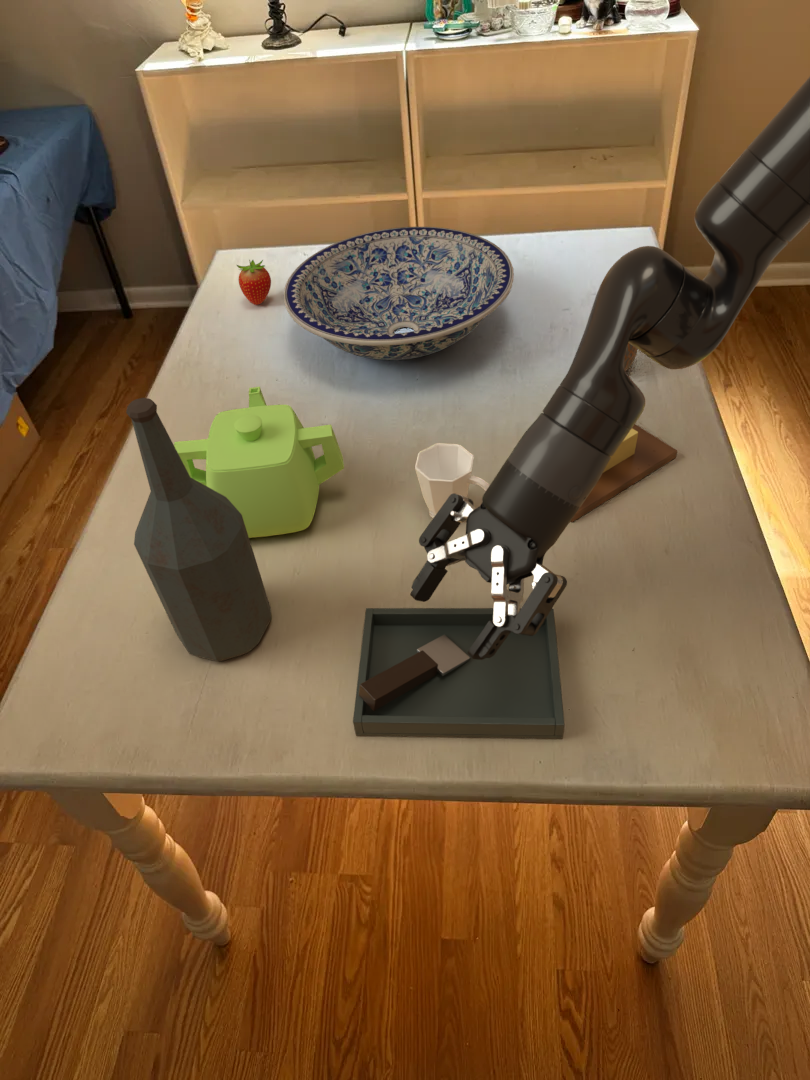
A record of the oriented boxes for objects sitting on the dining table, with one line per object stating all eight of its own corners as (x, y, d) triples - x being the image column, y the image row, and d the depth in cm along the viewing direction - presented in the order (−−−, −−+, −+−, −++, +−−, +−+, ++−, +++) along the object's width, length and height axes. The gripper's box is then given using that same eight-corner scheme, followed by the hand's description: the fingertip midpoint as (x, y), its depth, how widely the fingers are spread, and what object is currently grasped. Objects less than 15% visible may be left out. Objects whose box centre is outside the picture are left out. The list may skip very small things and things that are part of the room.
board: (606, 413, 106) (607, 406, 105) (676, 457, 99) (677, 450, 98) (505, 471, 100) (505, 463, 99) (572, 522, 93) (572, 515, 92)
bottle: (263, 580, 90) (193, 357, 68) (281, 646, 83) (211, 422, 61) (173, 607, 88) (73, 386, 66) (185, 676, 82) (78, 457, 60)
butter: (619, 444, 100) (623, 422, 97) (634, 453, 98) (638, 432, 96) (567, 474, 97) (570, 453, 94) (582, 485, 95) (585, 463, 93)
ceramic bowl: (347, 268, 139) (340, 212, 132) (536, 293, 129) (540, 234, 121) (254, 378, 118) (239, 319, 110) (472, 418, 108) (471, 356, 100)
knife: (442, 640, 82) (353, 689, 76) (445, 630, 81) (354, 678, 75) (468, 664, 80) (378, 717, 73) (471, 653, 79) (380, 705, 72)
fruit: (253, 294, 135) (243, 250, 129) (280, 297, 134) (271, 253, 128) (238, 310, 132) (227, 265, 126) (266, 314, 130) (256, 269, 124)
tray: (551, 623, 83) (553, 607, 81) (562, 739, 74) (564, 725, 72) (368, 622, 85) (365, 607, 83) (356, 736, 75) (352, 722, 73)
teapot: (199, 455, 106) (171, 375, 97) (345, 439, 106) (332, 357, 97) (185, 555, 93) (151, 473, 84) (351, 536, 94) (337, 452, 84)
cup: (436, 484, 99) (433, 434, 93) (507, 511, 95) (509, 460, 89) (407, 519, 95) (402, 469, 89) (480, 548, 91) (480, 498, 85)
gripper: (625, 532, 66) (518, 679, 70) (513, 449, 75) (423, 585, 79) (585, 516, 60) (471, 677, 65) (469, 428, 69) (375, 576, 73)
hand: (445, 626), depth 72 cm, fingers open, 8 cm apart
